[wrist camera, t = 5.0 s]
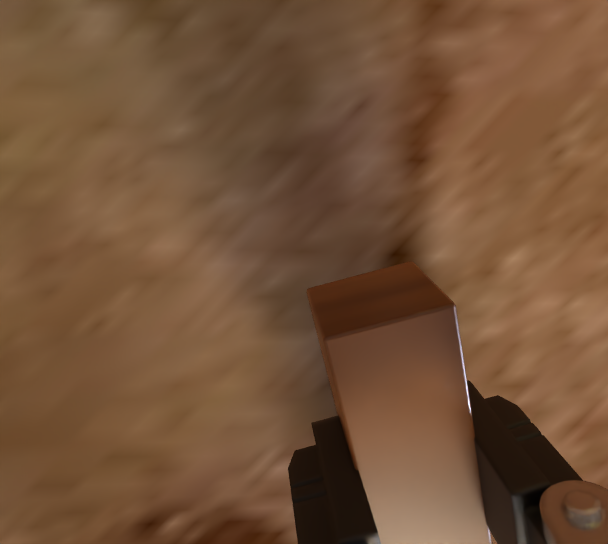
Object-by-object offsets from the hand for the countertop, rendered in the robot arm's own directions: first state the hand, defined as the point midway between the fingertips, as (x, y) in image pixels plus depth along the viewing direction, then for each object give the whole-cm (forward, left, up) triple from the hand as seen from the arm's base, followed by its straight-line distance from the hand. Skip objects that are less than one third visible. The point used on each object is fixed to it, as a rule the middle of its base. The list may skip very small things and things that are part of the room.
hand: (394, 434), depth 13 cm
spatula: (+3, -3, 0) cm, 4 cm away
